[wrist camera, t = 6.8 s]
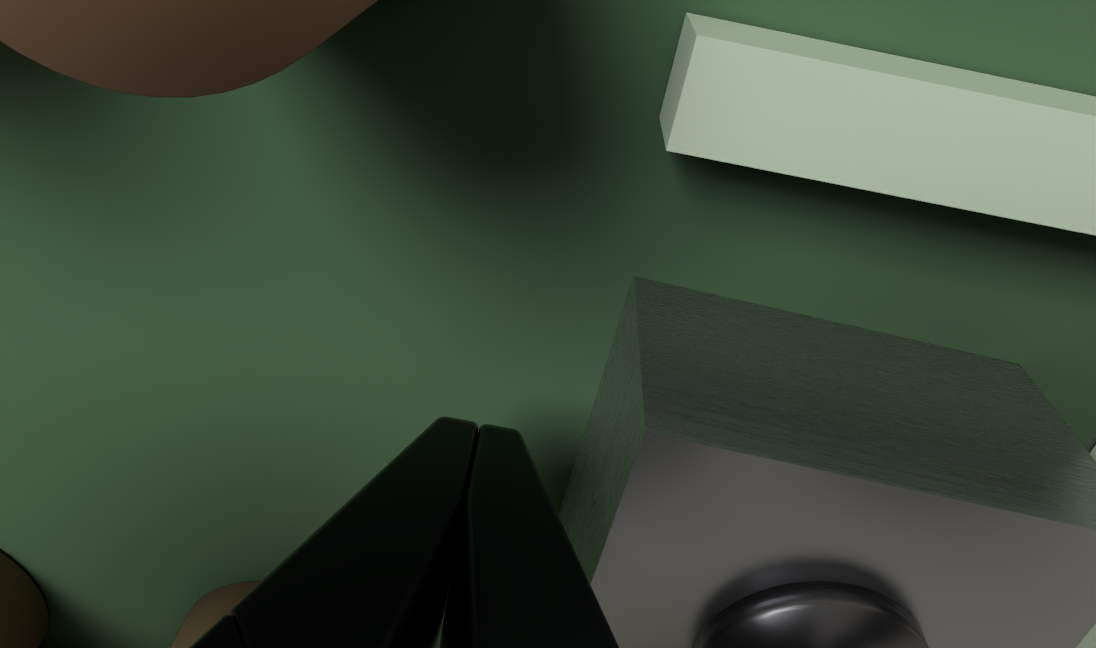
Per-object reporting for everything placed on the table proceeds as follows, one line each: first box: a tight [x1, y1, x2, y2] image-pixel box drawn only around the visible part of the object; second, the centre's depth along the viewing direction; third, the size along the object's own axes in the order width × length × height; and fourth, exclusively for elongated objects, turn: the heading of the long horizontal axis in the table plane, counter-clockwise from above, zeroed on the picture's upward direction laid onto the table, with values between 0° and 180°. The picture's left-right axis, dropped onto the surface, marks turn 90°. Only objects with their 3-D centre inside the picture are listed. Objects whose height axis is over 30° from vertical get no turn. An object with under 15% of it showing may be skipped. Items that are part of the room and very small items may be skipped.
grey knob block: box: [559, 276, 1096, 648], centre depth 9 cm, size 4×4×3 cm
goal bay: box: [659, 12, 1096, 648], centre depth 10 cm, size 7×9×1 cm
